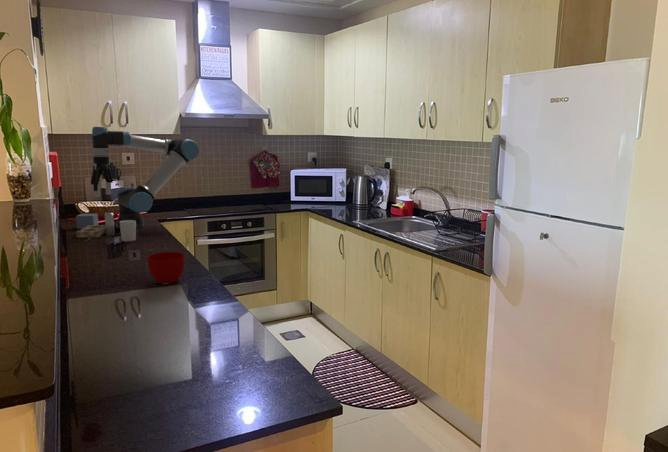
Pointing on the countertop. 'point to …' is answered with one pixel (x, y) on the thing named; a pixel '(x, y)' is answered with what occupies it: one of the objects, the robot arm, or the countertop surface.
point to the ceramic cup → (166, 266)
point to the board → (91, 231)
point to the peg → (109, 224)
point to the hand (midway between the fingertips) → (102, 195)
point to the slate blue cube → (86, 220)
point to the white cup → (128, 230)
